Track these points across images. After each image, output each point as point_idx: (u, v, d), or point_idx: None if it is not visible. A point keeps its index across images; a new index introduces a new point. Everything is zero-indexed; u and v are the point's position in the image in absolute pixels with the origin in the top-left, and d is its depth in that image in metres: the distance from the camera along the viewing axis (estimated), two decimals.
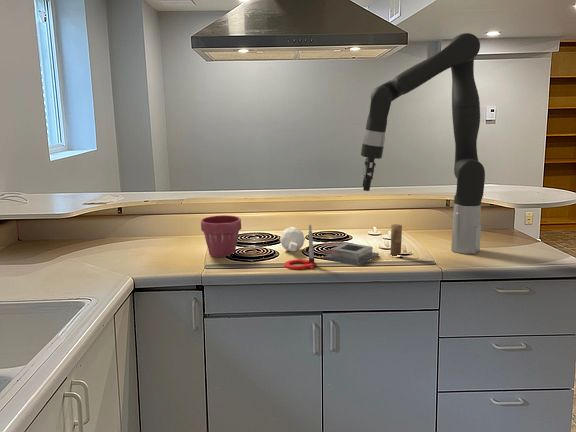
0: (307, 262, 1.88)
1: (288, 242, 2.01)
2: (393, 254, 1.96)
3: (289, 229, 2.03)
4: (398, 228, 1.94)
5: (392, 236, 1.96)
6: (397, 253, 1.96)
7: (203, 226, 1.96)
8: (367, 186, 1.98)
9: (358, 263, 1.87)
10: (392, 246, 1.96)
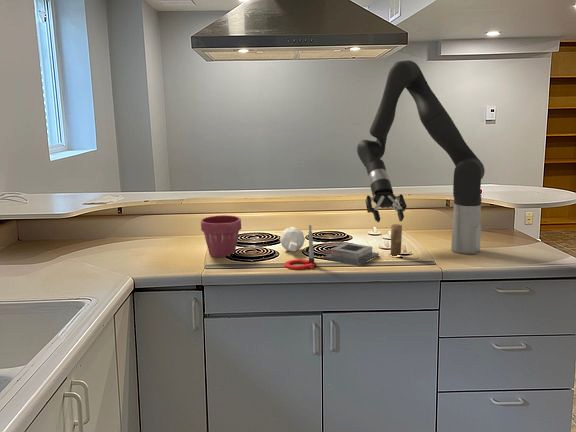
0: (307, 262, 1.88)
1: (288, 242, 2.01)
2: (393, 254, 1.96)
3: (289, 229, 2.03)
4: (398, 228, 1.94)
5: (392, 236, 1.96)
6: (397, 253, 1.96)
7: (203, 226, 1.96)
8: (375, 217, 2.01)
9: (358, 263, 1.87)
10: (392, 246, 1.96)
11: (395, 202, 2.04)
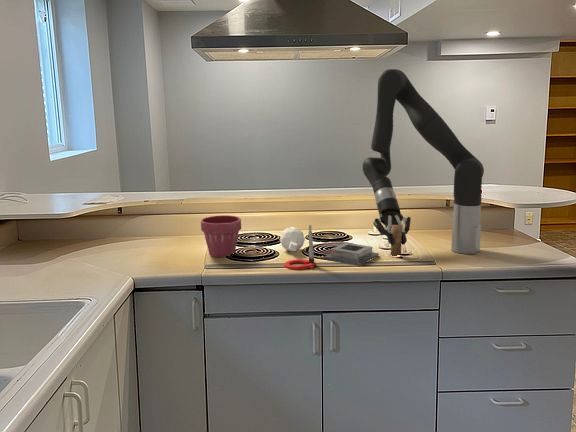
0: (307, 262, 1.88)
1: (288, 242, 2.01)
2: (393, 254, 1.96)
3: (289, 229, 2.03)
4: (398, 228, 1.94)
5: None
6: (397, 253, 1.96)
7: (203, 226, 1.96)
8: (389, 240, 1.95)
9: (358, 263, 1.87)
10: (392, 246, 1.96)
11: (400, 223, 1.98)
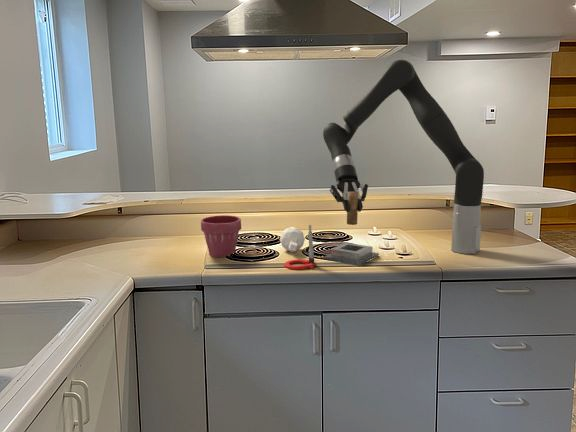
0: (307, 262, 1.88)
1: (288, 242, 2.01)
2: (349, 221, 1.93)
3: (289, 229, 2.03)
4: (354, 194, 1.90)
5: None
6: (353, 220, 1.92)
7: (203, 226, 1.96)
8: (344, 206, 1.91)
9: (358, 263, 1.87)
10: (348, 213, 1.92)
11: (356, 190, 1.94)
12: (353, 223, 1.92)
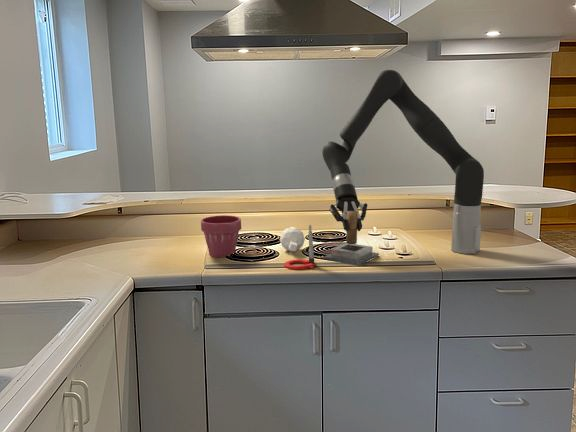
0: (307, 262, 1.88)
1: (288, 242, 2.01)
2: (349, 240, 1.94)
3: (289, 229, 2.03)
4: (353, 214, 1.92)
5: None
6: (352, 239, 1.94)
7: (203, 226, 1.96)
8: (344, 226, 1.93)
9: (358, 263, 1.87)
10: (348, 232, 1.94)
11: (356, 210, 1.95)
12: (353, 242, 1.94)
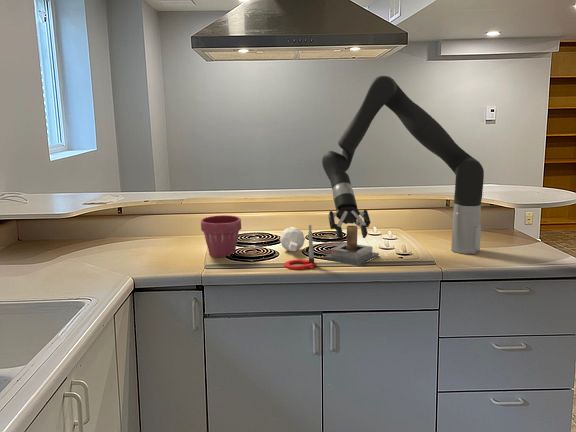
0: (307, 262, 1.88)
1: (288, 242, 2.01)
2: None
3: (289, 229, 2.03)
4: (353, 229, 1.93)
5: (347, 237, 1.94)
6: None
7: (203, 226, 1.96)
8: (338, 233, 1.93)
9: (358, 263, 1.87)
10: (348, 247, 1.95)
11: (358, 218, 1.96)
12: None
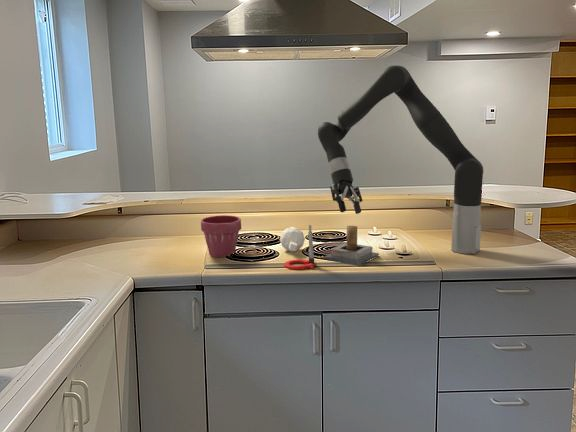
0: (307, 262, 1.88)
1: (288, 242, 2.01)
2: None
3: (289, 229, 2.03)
4: (353, 229, 1.93)
5: (347, 237, 1.94)
6: None
7: (203, 226, 1.96)
8: (341, 207, 2.03)
9: (358, 263, 1.87)
10: (348, 247, 1.95)
11: (355, 194, 2.09)
12: None
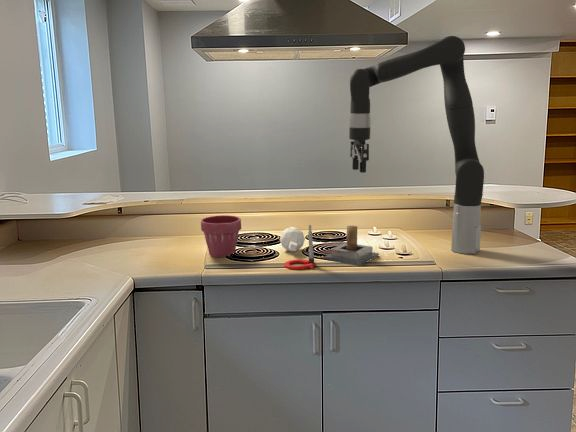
0: (307, 262, 1.88)
1: (288, 242, 2.01)
2: None
3: (289, 229, 2.03)
4: (353, 229, 1.93)
5: (347, 237, 1.94)
6: None
7: (203, 226, 1.96)
8: (364, 168, 2.02)
9: (358, 263, 1.87)
10: (348, 247, 1.95)
11: None
12: None
